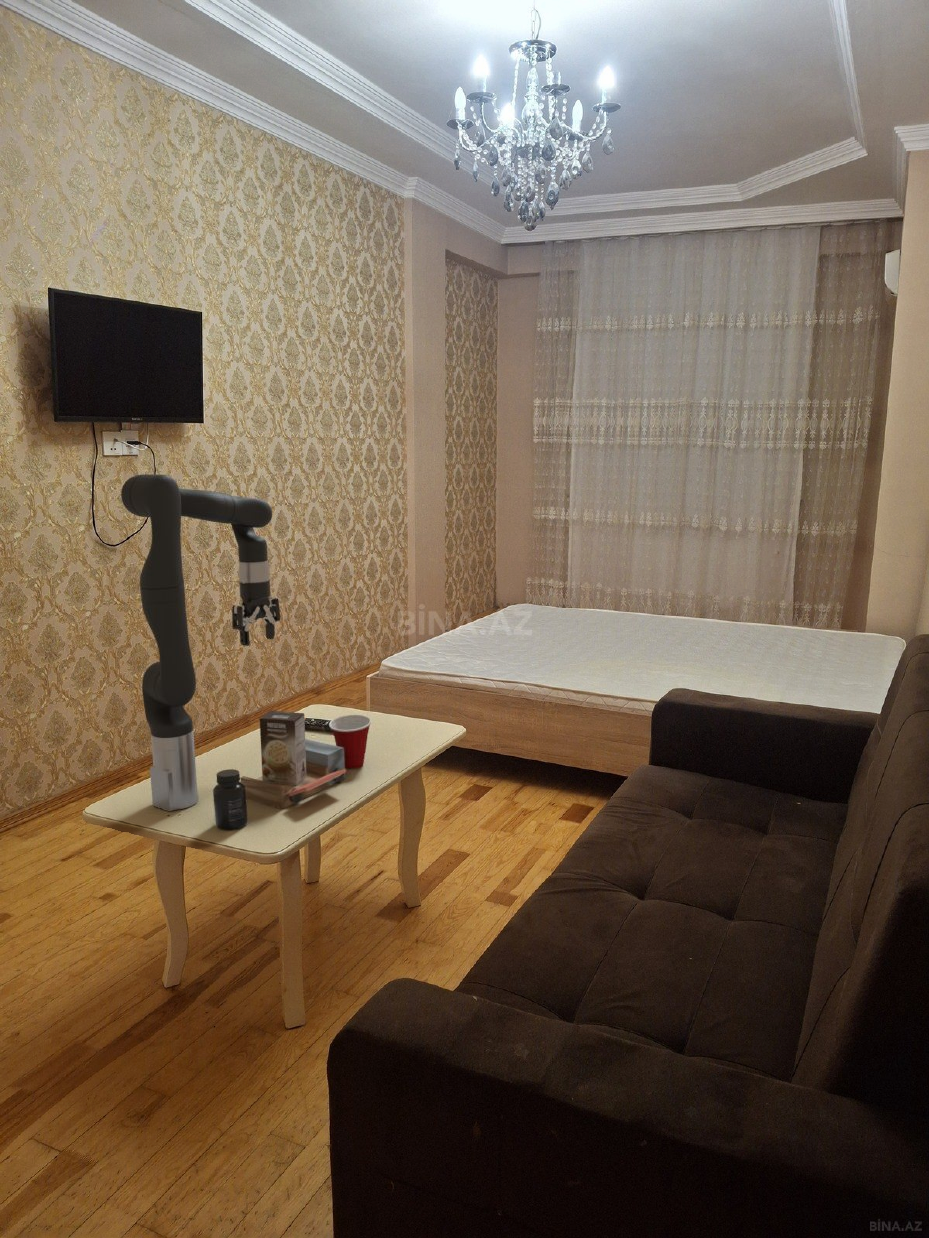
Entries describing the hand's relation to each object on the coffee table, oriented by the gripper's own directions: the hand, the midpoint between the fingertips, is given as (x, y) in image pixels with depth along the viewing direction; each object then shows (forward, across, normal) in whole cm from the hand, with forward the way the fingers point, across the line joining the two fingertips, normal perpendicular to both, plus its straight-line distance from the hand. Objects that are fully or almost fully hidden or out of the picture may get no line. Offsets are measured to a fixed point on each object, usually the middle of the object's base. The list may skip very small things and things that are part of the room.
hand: (258, 642), depth 227 cm
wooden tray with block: (+32, +9, +19) cm, 39 cm away
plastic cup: (+32, -10, +21) cm, 40 cm away
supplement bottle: (+32, +32, +22) cm, 51 cm away
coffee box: (+29, +12, +19) cm, 37 cm away
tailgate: (+29, +12, +27) cm, 41 cm away
